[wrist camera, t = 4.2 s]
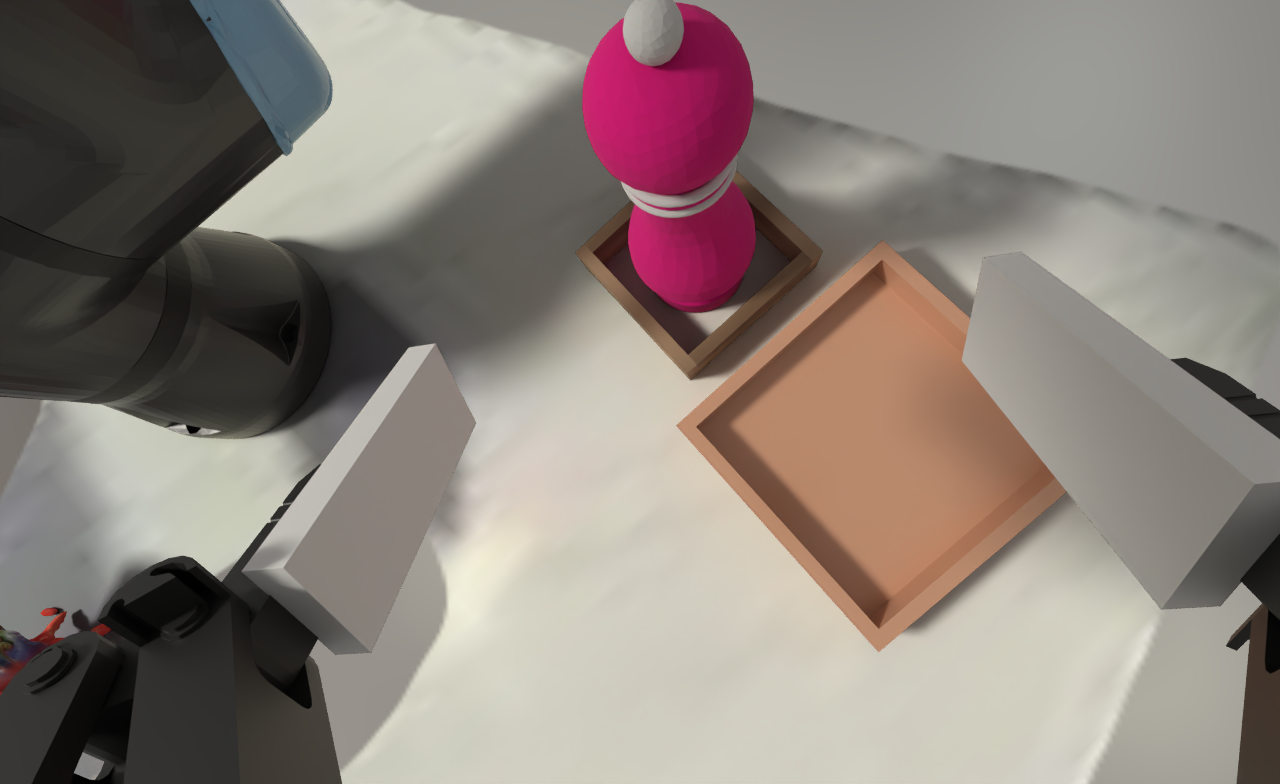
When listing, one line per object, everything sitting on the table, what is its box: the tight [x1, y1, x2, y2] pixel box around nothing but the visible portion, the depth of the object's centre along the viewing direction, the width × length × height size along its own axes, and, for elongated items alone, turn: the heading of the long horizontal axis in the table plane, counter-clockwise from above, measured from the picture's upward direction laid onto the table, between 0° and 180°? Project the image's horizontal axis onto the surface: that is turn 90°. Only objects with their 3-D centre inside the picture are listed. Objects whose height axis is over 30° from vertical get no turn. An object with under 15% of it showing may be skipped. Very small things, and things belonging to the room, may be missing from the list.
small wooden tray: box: [575, 171, 823, 380], centre depth 32 cm, size 11×11×2 cm
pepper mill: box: [582, 0, 756, 313], centre depth 24 cm, size 7×7×20 cm
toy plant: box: [0, 608, 111, 695], centre depth 34 cm, size 8×10×12 cm
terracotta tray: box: [676, 240, 1067, 652], centre depth 29 cm, size 16×16×3 cm
